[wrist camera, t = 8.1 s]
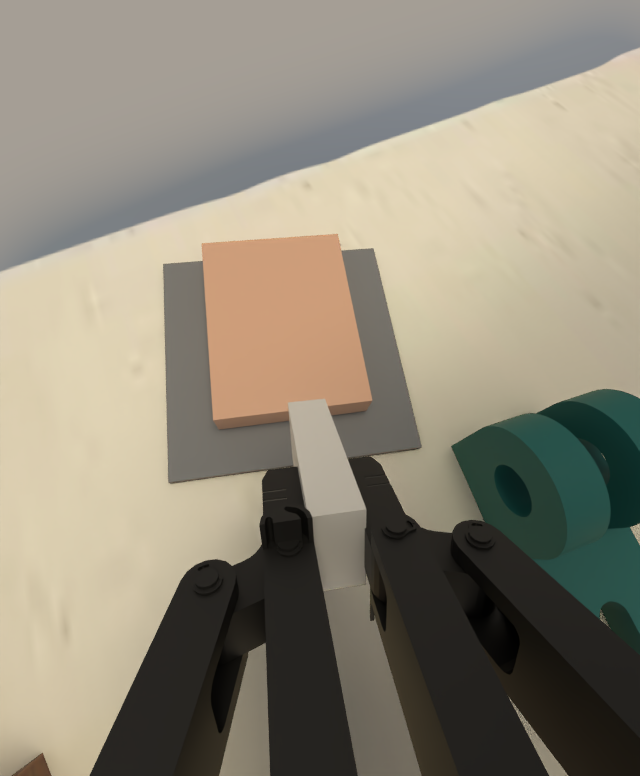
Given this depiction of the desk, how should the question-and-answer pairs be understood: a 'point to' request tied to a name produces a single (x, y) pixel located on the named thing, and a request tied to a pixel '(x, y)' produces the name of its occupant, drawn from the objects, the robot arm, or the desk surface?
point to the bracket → (569, 496)
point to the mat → (273, 440)
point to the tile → (280, 329)
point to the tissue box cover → (35, 768)
